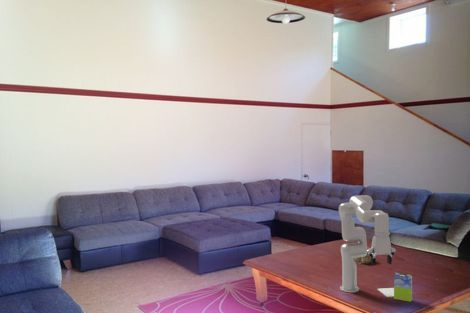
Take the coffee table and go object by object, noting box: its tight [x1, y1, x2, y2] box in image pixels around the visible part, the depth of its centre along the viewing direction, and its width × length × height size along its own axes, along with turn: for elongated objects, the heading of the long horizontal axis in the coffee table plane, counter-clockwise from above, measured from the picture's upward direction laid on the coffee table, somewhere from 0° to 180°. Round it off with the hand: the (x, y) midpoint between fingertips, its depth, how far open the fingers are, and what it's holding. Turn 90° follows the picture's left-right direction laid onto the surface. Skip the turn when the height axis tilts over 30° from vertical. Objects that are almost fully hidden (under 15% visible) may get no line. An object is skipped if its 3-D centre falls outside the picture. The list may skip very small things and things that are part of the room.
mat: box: [377, 287, 394, 298], centre depth 264 cm, size 14×16×1 cm
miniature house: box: [353, 246, 372, 265], centre depth 333 cm, size 15×14×11 cm
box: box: [393, 272, 413, 303], centre depth 251 cm, size 10×4×17 cm, turn 60°
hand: (381, 264), depth 225 cm, fingers open, 9 cm apart
